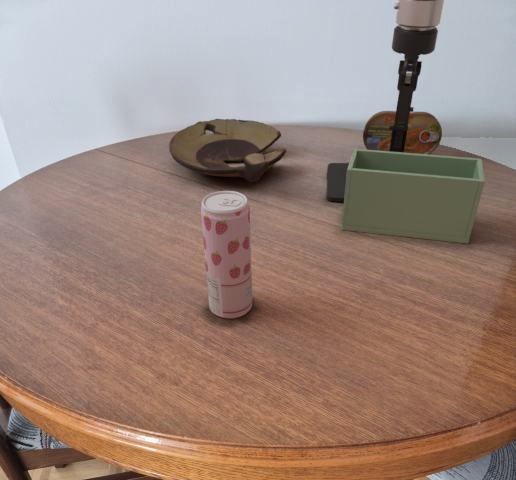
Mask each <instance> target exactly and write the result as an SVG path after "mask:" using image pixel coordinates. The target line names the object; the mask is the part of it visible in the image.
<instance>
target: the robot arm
mask: <svg viewBox="0 0 516 480" xmlns="http://www.w3.org/2000/svg"><path fill="white" fill-rule="evenodd" d="M444 1H445V0H398V2H395V3H394V4H393V9H394V10H397V11H396V15H395V23H396V24H397V25H396V26H395V27H394V29H393V34H392V43H391V50H392V51H393V52H394V53H396V54H400V55H401V54H403V55H404V56H403V58H404V60H403V59H402V60H401V59H400V60H399V65H398V71H397V74H398V79H397V86H396V90H397V91H398V95H397V96H398V97H397V102H396V110H395V111H396V115H395V122H394V125H393V126H390V128H389V130H392V137H391V144H390V150H389V151H390V152H403V153H404V147H405V141H406V135H407V129H408V120H409V114H410V112H414V108H415V107H413V106H412V101H413V96H414V92H416V90H417V87H418V82H419V81H418V80H419V77H420V75H421V71H422V63H423V61H421V60H419V59H420V56H421V55H423V56H425V55H429V54H432V53H433V52H434V51H435V50H436V44H437V40H438V39H437V38H438V34H439V30H438V28H437V26H439V25H440V24H441V19H442V14H443V8H444V7H443V6H444ZM403 123H404V124H403Z"/></svg>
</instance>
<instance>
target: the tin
mask: <svg viewBox="0 0 516 480" xmlns="http://www.w3.org/2000/svg"><path fill="white" fill-rule="evenodd" d="M395 115H396V110H382V111H378V112H376V113H374V114H373V115H372V116H370V117H369V119H368V120H367V122H366V123H365V125H364V128H363V132H362V142H363V145H364V147H365V149H366V150H378V151H389V150H390V144H391V137H392V130H389V128H390V126H393V125H394V122H395ZM403 124H404V123H403ZM442 136H443V130H442V125H441V123H440V122H439V120H438V119H437V118H436V116H434V115H433V114H432V113H430V112H428V111H413V112H410V114H409V120H408V129H407V135H406V141H405V147H404V153H415V154H428V155H432V153H433V152H434V151H435V150H436V149H437V148H438V147H439V146H440V143H441V141H442Z"/></svg>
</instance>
